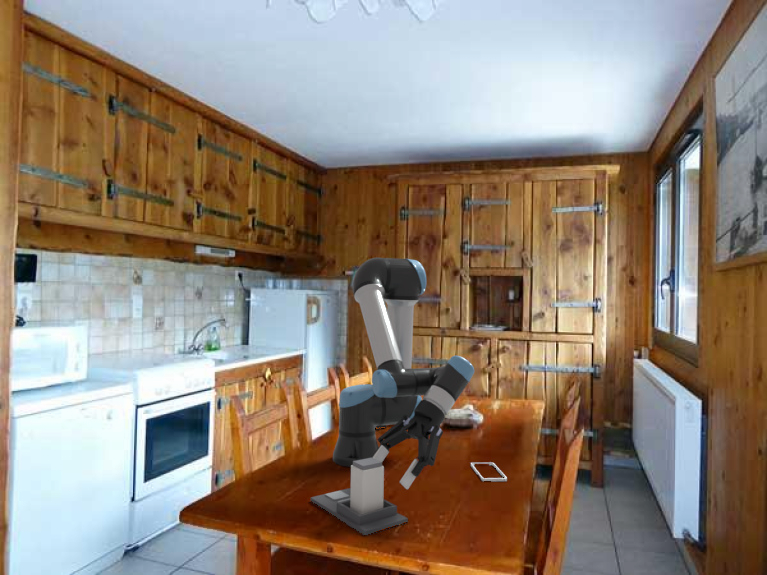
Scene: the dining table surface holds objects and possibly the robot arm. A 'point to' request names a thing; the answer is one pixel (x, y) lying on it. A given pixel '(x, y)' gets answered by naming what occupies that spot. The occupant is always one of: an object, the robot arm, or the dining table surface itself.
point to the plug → (367, 485)
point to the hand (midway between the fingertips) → (386, 477)
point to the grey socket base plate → (363, 523)
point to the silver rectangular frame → (489, 478)
